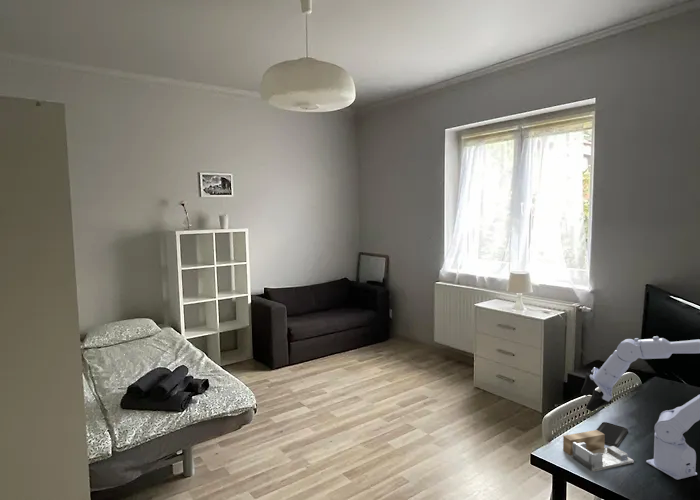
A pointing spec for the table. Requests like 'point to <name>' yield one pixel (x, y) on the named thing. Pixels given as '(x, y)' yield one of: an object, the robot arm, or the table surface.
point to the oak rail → (584, 440)
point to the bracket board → (600, 457)
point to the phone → (612, 433)
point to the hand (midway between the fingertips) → (586, 401)
